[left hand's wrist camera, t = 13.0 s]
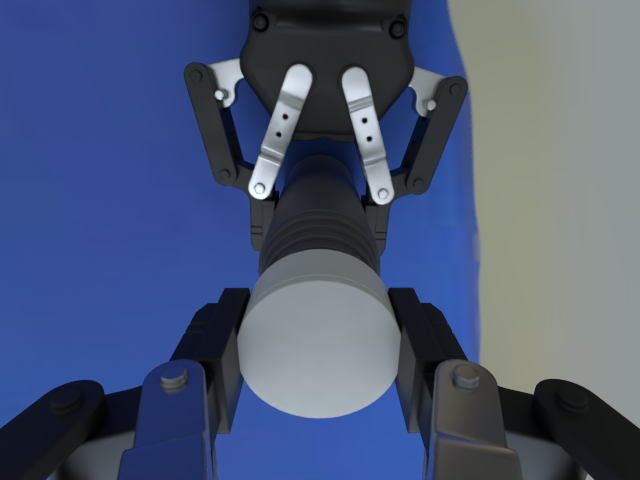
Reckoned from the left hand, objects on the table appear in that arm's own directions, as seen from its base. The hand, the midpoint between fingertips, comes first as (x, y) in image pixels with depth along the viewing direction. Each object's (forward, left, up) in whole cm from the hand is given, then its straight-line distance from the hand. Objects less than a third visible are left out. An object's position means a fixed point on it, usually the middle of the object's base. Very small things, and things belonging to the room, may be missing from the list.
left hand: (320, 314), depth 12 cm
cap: (0, 0, +2) cm, 2 cm away
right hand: (+2, -1, -10) cm, 11 cm away
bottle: (0, 0, -16) cm, 16 cm away
